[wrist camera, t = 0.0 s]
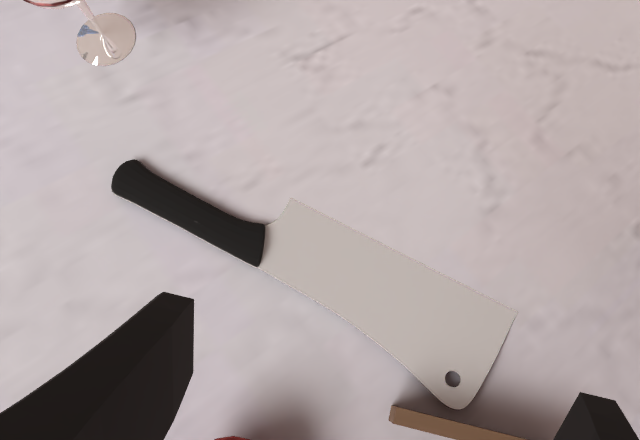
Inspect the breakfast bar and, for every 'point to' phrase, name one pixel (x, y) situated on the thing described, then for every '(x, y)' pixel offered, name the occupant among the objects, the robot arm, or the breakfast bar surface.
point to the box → (444, 426)
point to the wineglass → (98, 33)
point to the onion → (232, 438)
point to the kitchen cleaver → (349, 282)
